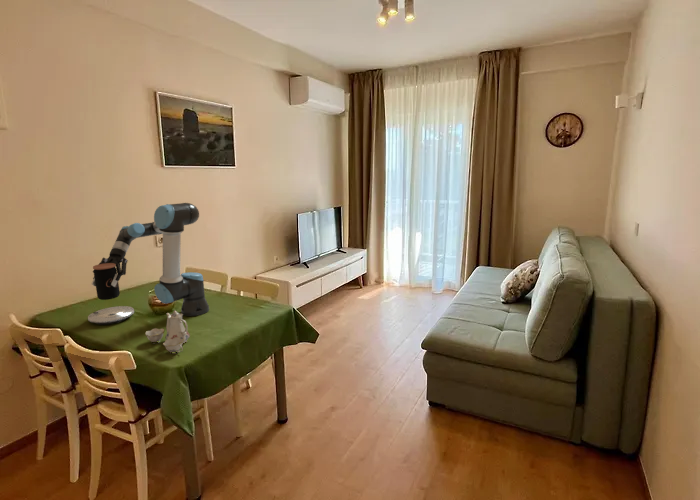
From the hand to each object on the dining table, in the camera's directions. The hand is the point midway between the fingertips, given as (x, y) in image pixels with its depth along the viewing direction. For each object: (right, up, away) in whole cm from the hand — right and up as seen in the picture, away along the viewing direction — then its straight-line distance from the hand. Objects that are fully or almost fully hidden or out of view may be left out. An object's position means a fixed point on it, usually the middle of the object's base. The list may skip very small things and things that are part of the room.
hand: (103, 285), depth 210 cm
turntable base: (+1, -19, +7) cm, 21 cm away
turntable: (+1, -17, +7) cm, 18 cm away
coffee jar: (0, -7, +5) cm, 8 cm away
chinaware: (+48, -26, -24) cm, 60 cm away
